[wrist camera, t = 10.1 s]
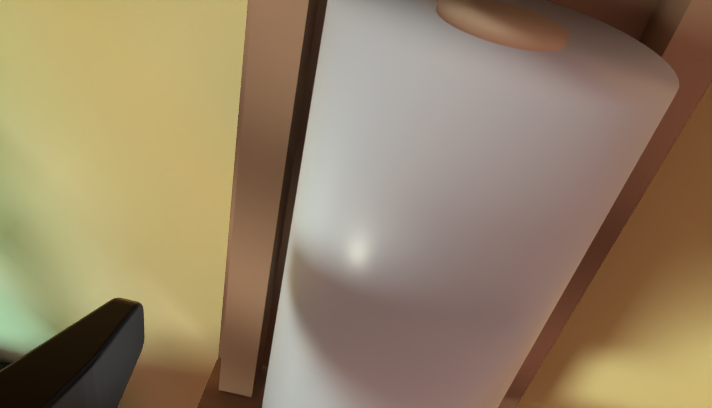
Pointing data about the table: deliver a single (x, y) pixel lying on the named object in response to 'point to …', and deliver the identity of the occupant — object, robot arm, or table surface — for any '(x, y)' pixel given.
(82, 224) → the table surface
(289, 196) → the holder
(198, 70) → the table surface
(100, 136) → the table surface
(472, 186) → the cylinder
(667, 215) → the table surface
